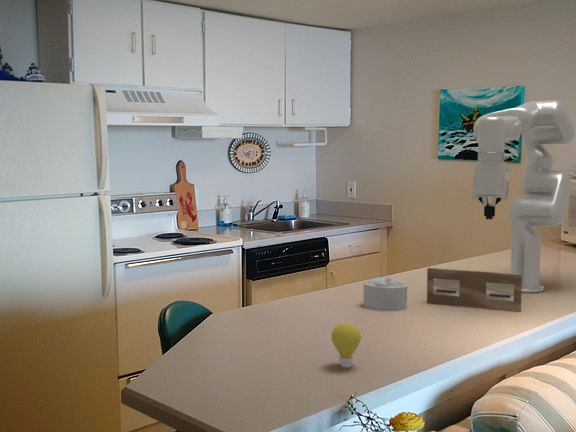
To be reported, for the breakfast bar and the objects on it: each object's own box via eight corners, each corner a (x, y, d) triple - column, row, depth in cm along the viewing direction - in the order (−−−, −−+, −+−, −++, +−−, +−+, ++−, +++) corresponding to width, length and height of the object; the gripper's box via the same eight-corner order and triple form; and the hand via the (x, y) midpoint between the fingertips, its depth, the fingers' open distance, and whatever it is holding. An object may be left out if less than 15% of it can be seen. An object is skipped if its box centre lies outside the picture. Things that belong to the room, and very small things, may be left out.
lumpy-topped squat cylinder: (374, 300, 222) (374, 274, 221) (412, 305, 215) (413, 278, 214) (359, 307, 213) (360, 279, 212) (399, 312, 206) (399, 284, 205)
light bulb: (329, 361, 161) (329, 319, 160) (357, 360, 161) (358, 318, 160) (333, 371, 154) (333, 327, 153) (363, 370, 155) (363, 326, 154)
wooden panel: (427, 302, 219) (428, 267, 218) (520, 310, 207) (521, 274, 206) (426, 303, 217) (427, 268, 216) (520, 311, 206) (521, 275, 205)
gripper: (518, 157, 208) (516, 218, 210) (467, 157, 214) (466, 216, 216) (515, 158, 201) (513, 221, 203) (463, 158, 207) (462, 219, 209)
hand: (489, 218), depth 210 cm, fingers closed
